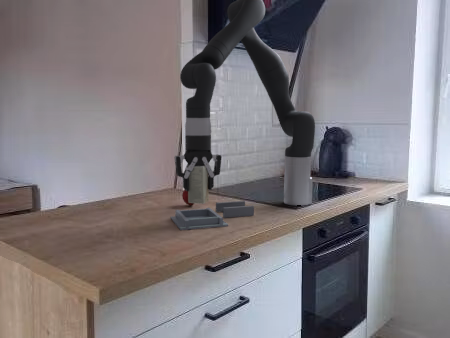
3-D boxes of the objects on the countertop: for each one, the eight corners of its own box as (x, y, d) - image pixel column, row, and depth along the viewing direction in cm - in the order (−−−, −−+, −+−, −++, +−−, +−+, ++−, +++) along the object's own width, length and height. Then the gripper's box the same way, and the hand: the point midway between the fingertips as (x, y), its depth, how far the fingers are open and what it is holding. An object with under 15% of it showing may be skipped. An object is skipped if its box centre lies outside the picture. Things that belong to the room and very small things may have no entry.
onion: (196, 208, 141) (196, 185, 140) (180, 207, 142) (180, 184, 141) (200, 204, 147) (200, 182, 146) (185, 203, 148) (185, 181, 147)
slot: (243, 209, 140) (243, 200, 139) (253, 215, 131) (253, 206, 131) (215, 211, 136) (215, 202, 136) (224, 217, 128) (224, 208, 128)
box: (208, 201, 123) (209, 165, 122) (203, 204, 119) (204, 166, 118) (192, 199, 125) (193, 163, 124) (187, 202, 121) (187, 165, 120)
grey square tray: (213, 214, 132) (213, 206, 131) (228, 226, 118) (228, 217, 118) (170, 218, 127) (170, 209, 127) (180, 230, 114) (180, 220, 114)
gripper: (217, 132, 125) (217, 186, 127) (171, 133, 121) (171, 189, 123) (225, 134, 118) (225, 191, 120) (176, 134, 114) (177, 193, 116)
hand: (198, 189), depth 122 cm, fingers closed on box, 6 cm apart
